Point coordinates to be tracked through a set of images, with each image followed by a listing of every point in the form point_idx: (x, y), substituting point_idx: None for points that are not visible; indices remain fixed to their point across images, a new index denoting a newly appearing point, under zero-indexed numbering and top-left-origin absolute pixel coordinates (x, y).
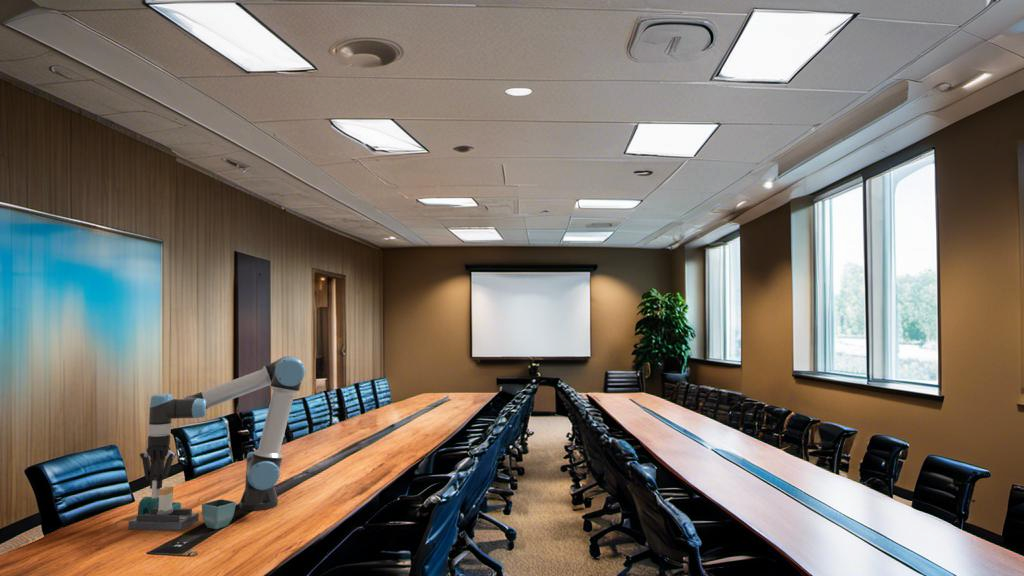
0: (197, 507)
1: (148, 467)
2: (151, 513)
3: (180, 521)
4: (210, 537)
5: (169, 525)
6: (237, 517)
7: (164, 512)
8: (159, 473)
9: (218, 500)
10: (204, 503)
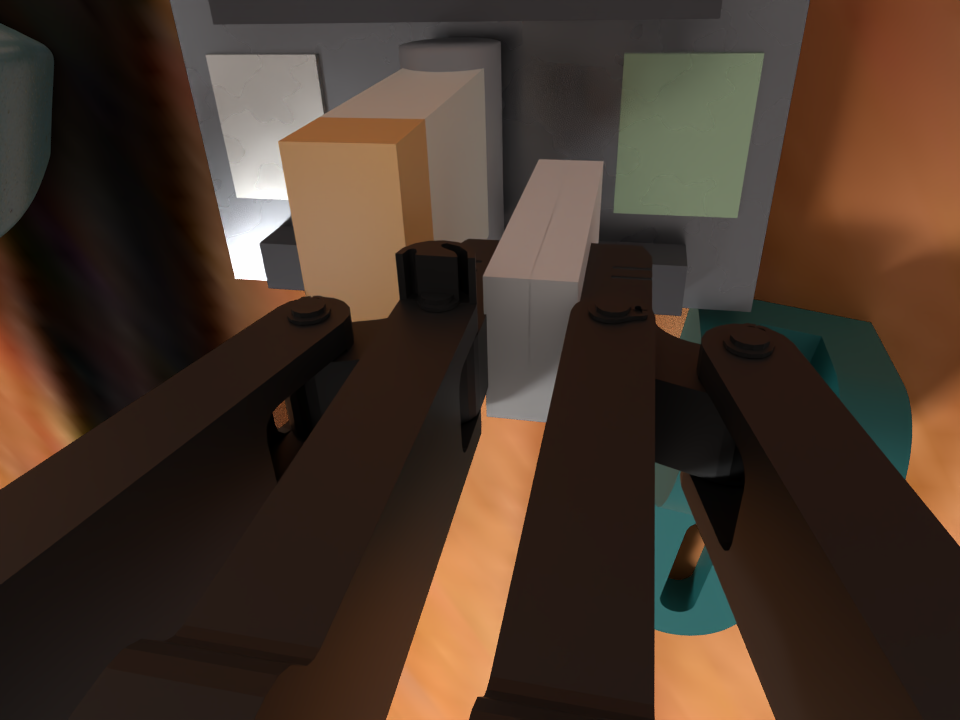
0: (506, 580)
1: (788, 606)
2: (678, 248)
3: None
4: None
5: None
6: (68, 342)
7: (399, 57)
8: (365, 371)
9: None
10: None
